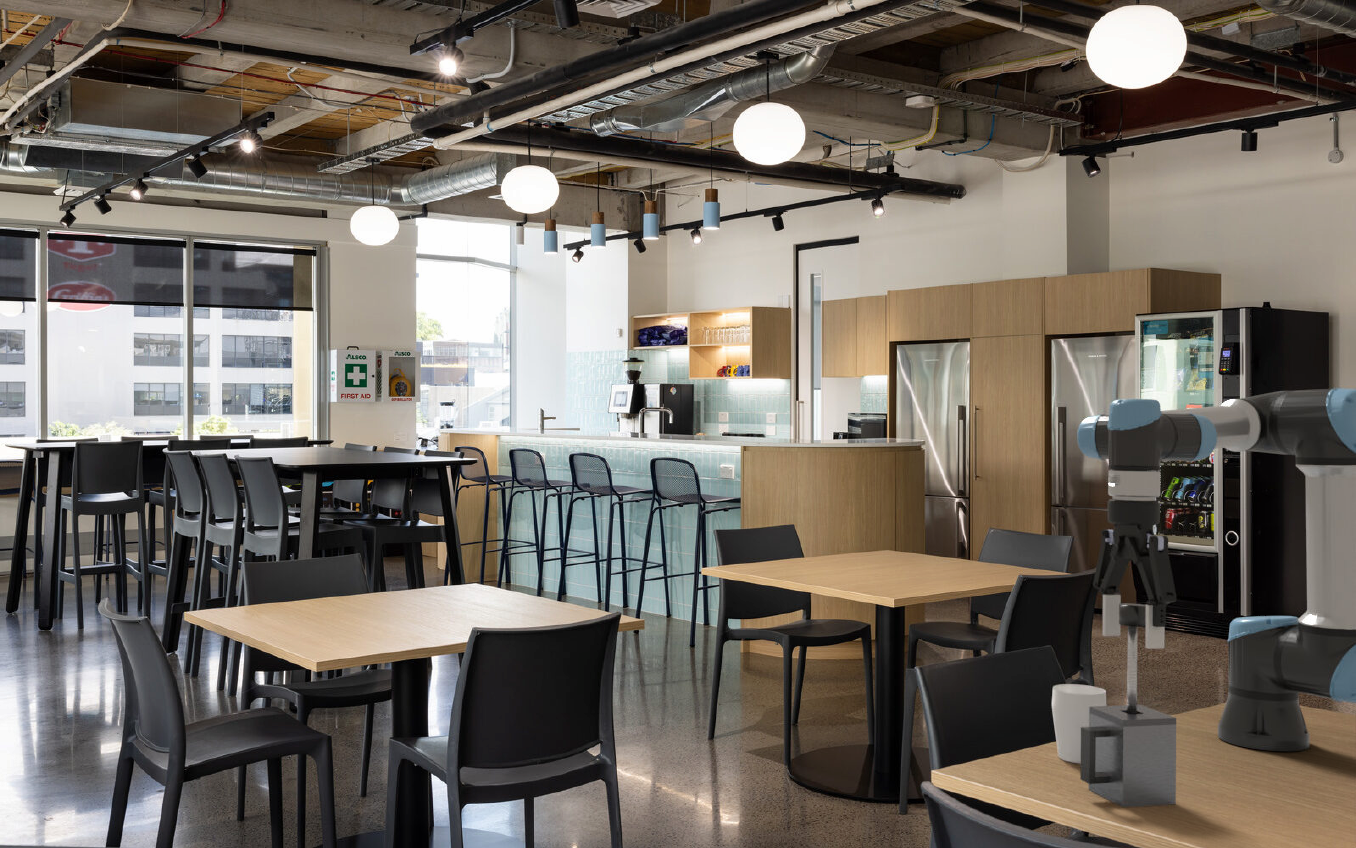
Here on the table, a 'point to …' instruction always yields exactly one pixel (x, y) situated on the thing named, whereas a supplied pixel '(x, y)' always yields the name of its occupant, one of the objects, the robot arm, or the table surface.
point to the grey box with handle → (1130, 755)
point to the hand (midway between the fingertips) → (1132, 641)
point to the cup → (1073, 716)
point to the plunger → (1132, 647)
